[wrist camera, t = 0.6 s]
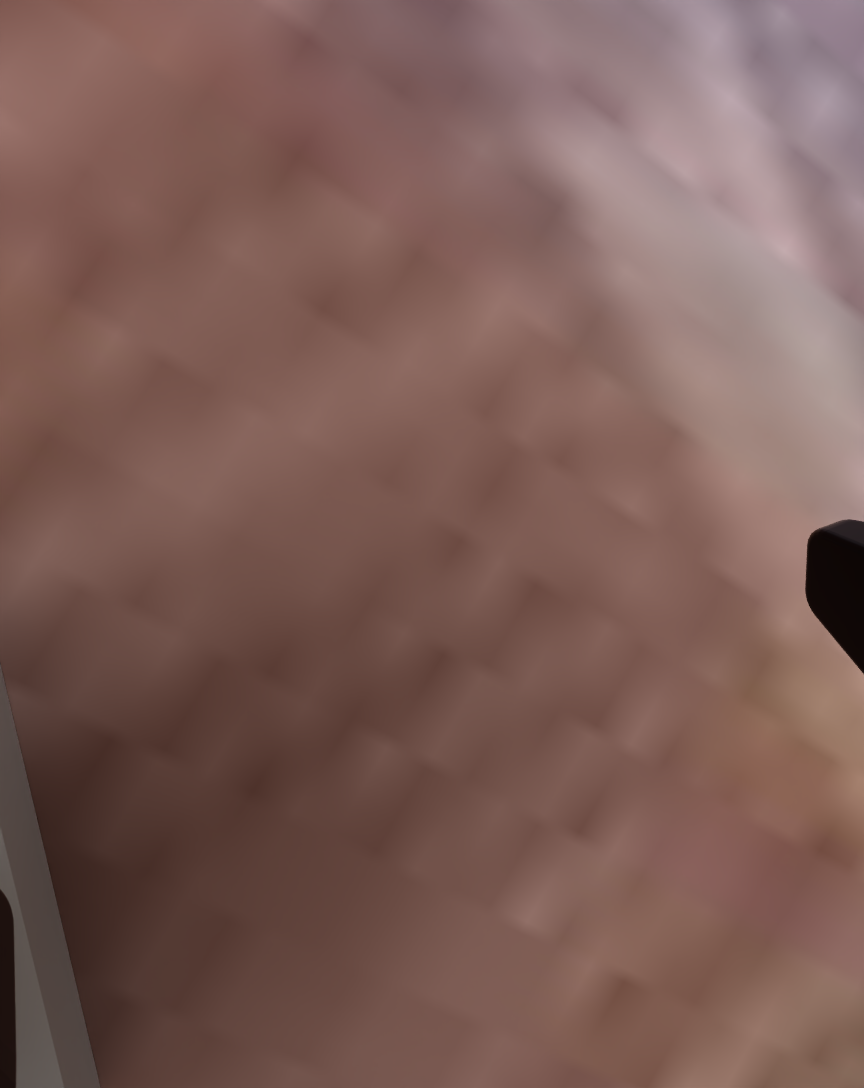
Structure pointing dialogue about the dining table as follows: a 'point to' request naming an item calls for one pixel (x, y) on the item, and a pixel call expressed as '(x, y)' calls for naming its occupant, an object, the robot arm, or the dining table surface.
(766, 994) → the dining table surface
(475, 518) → the dining table surface
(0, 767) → the holder
